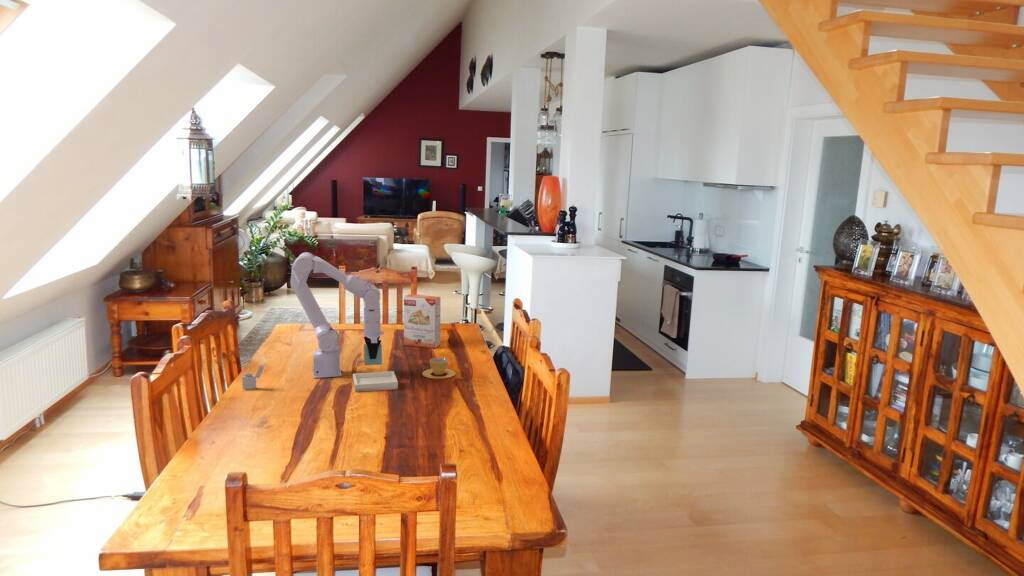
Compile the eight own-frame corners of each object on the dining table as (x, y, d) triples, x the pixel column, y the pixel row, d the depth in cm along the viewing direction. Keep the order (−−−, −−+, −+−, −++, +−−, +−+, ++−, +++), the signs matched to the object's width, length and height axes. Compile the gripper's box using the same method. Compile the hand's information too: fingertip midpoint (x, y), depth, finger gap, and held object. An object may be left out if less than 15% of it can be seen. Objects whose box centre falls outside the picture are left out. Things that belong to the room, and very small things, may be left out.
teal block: (364, 365, 248) (364, 346, 247) (364, 363, 251) (363, 344, 249) (381, 364, 250) (381, 345, 248) (381, 362, 252) (380, 343, 251)
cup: (449, 381, 245) (449, 366, 244) (417, 378, 247) (417, 363, 246) (459, 371, 256) (459, 356, 255) (428, 368, 259) (428, 354, 258)
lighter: (242, 389, 231) (241, 366, 229) (243, 387, 232) (242, 364, 231) (264, 389, 232) (263, 365, 230) (265, 387, 233) (264, 364, 232)
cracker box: (403, 345, 286) (403, 296, 282) (409, 342, 292) (409, 293, 288) (434, 349, 283) (435, 298, 278) (440, 345, 288) (440, 296, 284)
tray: (355, 392, 231) (355, 384, 230) (352, 380, 242) (352, 373, 242) (397, 388, 235) (397, 381, 234) (393, 377, 246) (393, 371, 246)
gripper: (385, 324, 241) (386, 362, 244) (381, 315, 255) (381, 351, 258) (365, 325, 239) (365, 363, 242) (361, 316, 253) (362, 352, 256)
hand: (372, 357), depth 250 cm, fingers closed on teal block, 3 cm apart
